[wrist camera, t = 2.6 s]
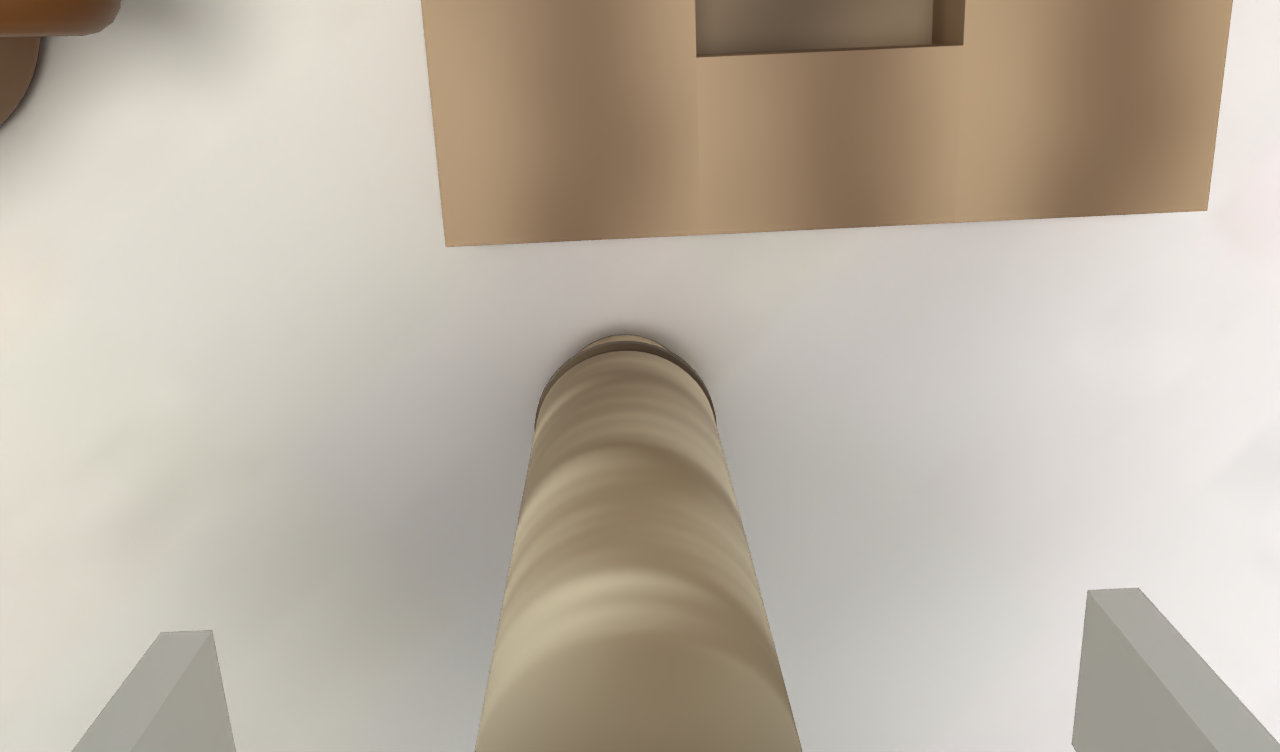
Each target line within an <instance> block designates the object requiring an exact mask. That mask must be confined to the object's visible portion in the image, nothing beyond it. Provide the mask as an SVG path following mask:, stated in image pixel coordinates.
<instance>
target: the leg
mask: <svg viewBox="0 0 1280 752" xmlns="http://www.w3.org/2000/svg"><path fill="white" fill-rule="evenodd" d="M475 752H802V749H801V745H800V741H799V737H798V733H797V729H796V726H795V722H794V718H793V714H792V711H791V707H790V703H789V699H788V695H787V692H786V688H785V684H784V680H783V676H782V673H781V669H780V665H779V661H778V658H777V654H776V650H775V646H774V642H773V639H772V635H771V631H770V627H769V623H768V620H767V616H766V612H765V608H764V605H763V601H762V597H761V593H760V589H759V586H758V582H757V578H756V574H755V570H754V567H753V563H752V559H751V555H750V552H749V548H748V544H747V540H746V536H745V533H744V529H743V525H742V521H741V517H740V514H739V510H738V506H737V502H736V499H735V495H734V491H733V487H732V483H731V480H730V476H729V472H728V468H727V464H726V461H725V457H724V453H723V449H722V446H721V442H720V438H719V434H718V430H717V425H716V416H715V412H714V408H713V404H712V400H711V398H710V395H709V393H708V390H707V388H706V387H705V385H704V383H703V381H702V380H701V378H700V377H699V376H698V374H697V373H696V372H695V371H694V370H693V369H692V368H691V367H690V366H689V365H688V364H687V363H686V362H685V361H683V360H682V359H681V358H680V357H678V356H677V355H675V354H673V353H671V352H670V351H668V350H667V349H665V348H664V347H663V346H661V345H660V344H658V343H656V342H654V341H652V340H649V339H647V338H643V337H640V336H634V335H616V336H610V337H606V338H603V339H600V340H597V341H595V342H593V343H591V344H590V345H588V346H587V347H585V348H584V349H582V350H581V351H580V352H579V353H578V354H577V355H575V356H574V357H572V358H571V359H569V360H568V361H567V362H565V363H564V364H563V365H562V366H561V367H560V368H559V369H558V370H557V371H556V373H555V374H554V375H553V376H552V377H551V379H550V380H549V382H548V384H547V385H546V387H545V389H544V391H543V393H542V396H541V398H540V401H539V404H538V408H537V413H536V419H535V434H534V439H533V445H532V450H531V455H530V461H529V466H528V471H527V476H526V482H525V487H524V492H523V498H522V503H521V508H520V514H519V519H518V524H517V529H516V535H515V540H514V545H513V551H512V556H511V561H510V567H509V572H508V577H507V582H506V588H505V593H504V598H503V604H502V609H501V614H500V620H499V625H498V630H497V635H496V641H495V646H494V651H493V657H492V662H491V667H490V673H489V678H488V683H487V688H486V694H485V699H484V704H483V710H482V715H481V720H480V726H479V731H478V736H477V741H476V747H475Z"/></svg>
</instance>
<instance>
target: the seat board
mask: <svg viewBox="0 0 1280 752" xmlns="http://www.w3.org/2000/svg"><path fill="white" fill-rule="evenodd" d="M1232 3H1233V0H421V6H422V16H423V26H424V36H425V46H426V56H427V66H428V76H429V86H430V96H431V105H432V115H433V125H434V135H435V145H436V155H437V165H438V175H439V185H440V195H441V205H442V215H443V225H444V235H445V245H446V247H455V246H476V245H497V244H518V243H539V242H560V241H581V240H602V239H623V238H644V237H665V236H686V235H707V234H728V233H749V232H770V231H791V230H812V229H833V228H854V227H875V226H896V225H917V224H938V223H959V222H980V221H1001V220H1022V219H1043V218H1064V217H1085V216H1106V215H1127V214H1148V213H1169V212H1190V211H1207V208H1208V200H1209V192H1210V183H1211V175H1212V167H1213V159H1214V150H1215V142H1216V134H1217V126H1218V118H1219V109H1220V101H1221V93H1222V85H1223V77H1224V68H1225V60H1226V52H1227V44H1228V36H1229V27H1230V19H1231V11H1232Z"/></svg>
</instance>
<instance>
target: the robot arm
mask: <svg viewBox="0 0 1280 752" xmlns="http://www.w3.org/2000/svg"><path fill="white" fill-rule="evenodd" d="M1072 745H1073V747H1074V749H1075V750H1076V752H1280V744H1279V743H1278V742H1277V741H1276V739H1275V738H1274V737H1273V736H1272V735H1271V734H1270V733H1269V732H1268V731H1267V730H1266V728H1265V727H1264V726H1263V725H1262V724H1261V723H1260V722H1259V721H1258V720H1257V718H1256V717H1255V716H1254V715H1253V714H1252V713H1251V712H1250V711H1249V710H1248V708H1247V707H1246V706H1245V705H1244V704H1243V703H1242V702H1241V701H1240V700H1239V698H1238V697H1237V696H1236V695H1235V694H1234V693H1233V692H1232V691H1231V690H1230V689H1229V687H1228V686H1227V685H1226V684H1225V683H1224V682H1223V681H1222V680H1221V679H1220V677H1219V676H1218V675H1217V674H1216V673H1215V672H1214V671H1213V670H1212V669H1211V667H1210V666H1209V665H1208V664H1207V663H1206V662H1205V661H1204V660H1203V659H1202V657H1201V656H1200V655H1199V654H1198V653H1197V652H1196V651H1195V650H1194V649H1193V648H1192V646H1191V645H1190V644H1189V643H1188V642H1187V641H1186V640H1185V639H1184V638H1183V636H1182V635H1181V634H1180V633H1179V632H1178V631H1177V630H1176V629H1175V628H1174V626H1173V625H1172V624H1171V623H1170V622H1169V621H1168V620H1167V619H1166V618H1165V616H1164V615H1163V614H1162V613H1161V612H1160V611H1159V610H1158V609H1157V608H1156V607H1155V605H1154V604H1153V603H1152V602H1151V601H1150V600H1149V599H1148V598H1147V597H1146V595H1145V594H1144V593H1143V592H1142V591H1141V590H1140V589H1139V588H1124V589H1102V590H1088V591H1087V601H1086V610H1085V620H1084V630H1083V640H1082V649H1081V659H1080V669H1079V678H1078V688H1077V698H1076V708H1075V717H1074V727H1073V737H1072ZM72 752H236V750H235V745H234V740H233V734H232V729H231V724H230V719H229V714H228V709H227V704H226V699H225V694H224V689H223V683H222V678H221V673H220V668H219V663H218V658H217V653H216V648H215V643H214V638H213V632H212V630H203V631H181V632H161V633H160V634H159V636H158V637H157V638H156V640H155V641H154V642H153V644H152V645H151V646H150V648H149V649H148V650H147V652H146V653H145V654H144V656H143V657H142V658H141V660H140V661H139V662H138V664H137V665H136V666H135V668H134V669H133V670H132V672H131V673H130V674H129V676H128V677H127V678H126V680H125V681H124V682H123V684H122V685H121V686H120V688H119V689H118V690H117V692H116V693H115V694H114V696H113V697H112V698H111V700H110V701H109V702H108V704H107V705H106V706H105V708H104V709H103V710H102V712H101V713H100V714H99V716H98V717H97V718H96V720H95V721H94V722H93V724H92V725H91V726H90V728H89V729H88V730H87V732H86V733H85V734H84V736H83V737H82V738H81V740H80V741H79V742H78V744H77V745H76V746H75V748H74V749H73V750H72Z"/></svg>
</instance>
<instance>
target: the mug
mask: <svg viewBox="0 0 1280 752" xmlns="http://www.w3.org/2000/svg"><path fill="white" fill-rule="evenodd" d="M120 4H121V0H0V125H1V124H2V123H3V122H4V121H5V120H6V119H7V118H8V117H9V116H10V115H11V114H12V112H13V111H14V110H15V108H16V107H17V105H18V104H19V102H20V101H21V99H22V98H23V96H24V95H25V92H26V90H27V88H28V86H29V84H30V82H31V80H32V77H33V73H34V70H35V67H36V63H37V59H38V53H39V46H40V36H83V35H88V34H92V33H97V32H100V31H101V30H102V29H104V28H105V27H107V26H108V25H109V24H111V23H112V22H113V20H114V18H115V17H116V15H117V13H118V11H119V9H120Z"/></svg>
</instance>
